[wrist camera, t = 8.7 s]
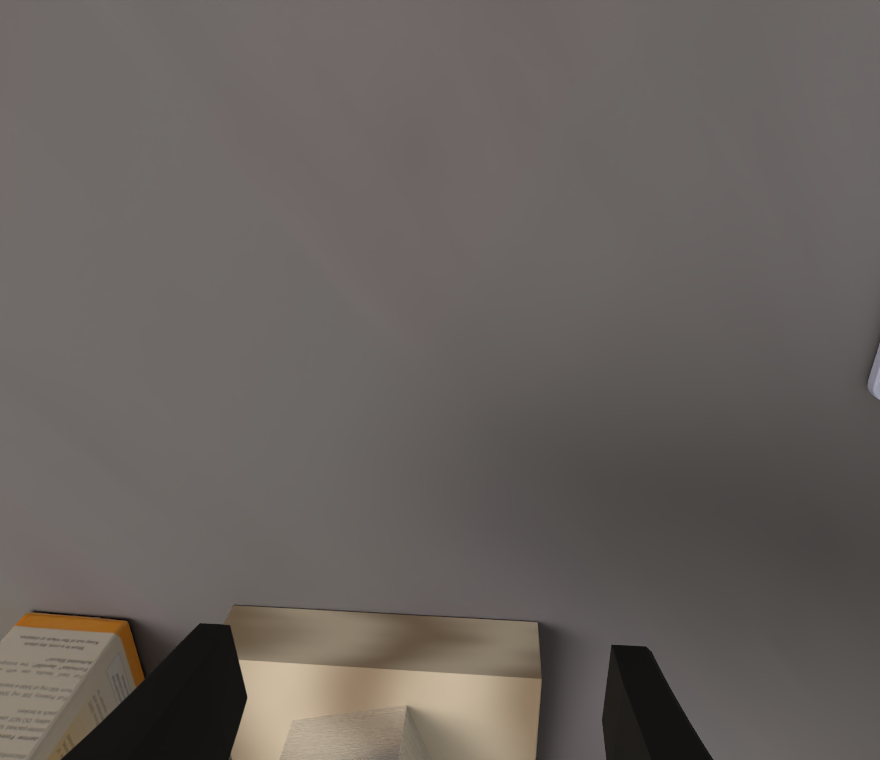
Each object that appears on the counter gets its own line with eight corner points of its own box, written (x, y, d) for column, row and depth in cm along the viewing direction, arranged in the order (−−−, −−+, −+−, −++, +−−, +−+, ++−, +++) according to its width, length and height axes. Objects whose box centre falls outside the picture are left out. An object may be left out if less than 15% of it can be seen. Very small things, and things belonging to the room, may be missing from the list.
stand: (537, 622, 23) (541, 678, 21) (524, 811, 28) (526, 874, 26) (233, 605, 24) (206, 657, 22) (273, 791, 29) (254, 849, 27)
